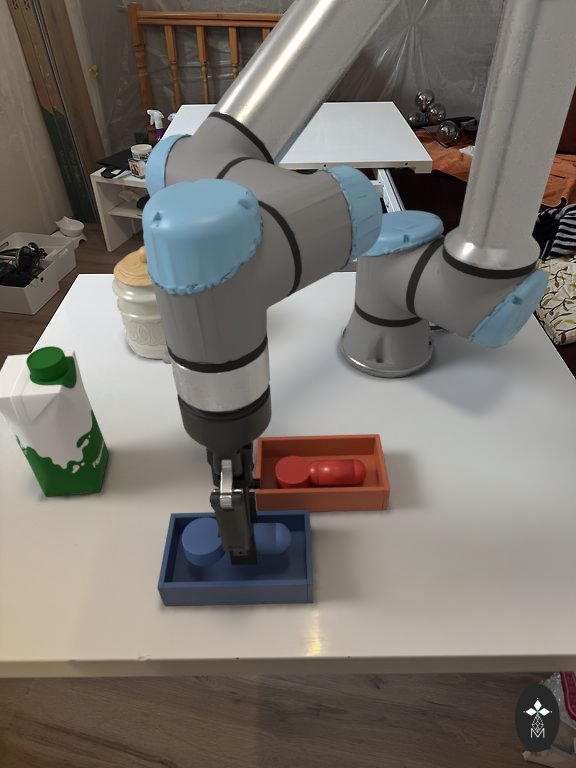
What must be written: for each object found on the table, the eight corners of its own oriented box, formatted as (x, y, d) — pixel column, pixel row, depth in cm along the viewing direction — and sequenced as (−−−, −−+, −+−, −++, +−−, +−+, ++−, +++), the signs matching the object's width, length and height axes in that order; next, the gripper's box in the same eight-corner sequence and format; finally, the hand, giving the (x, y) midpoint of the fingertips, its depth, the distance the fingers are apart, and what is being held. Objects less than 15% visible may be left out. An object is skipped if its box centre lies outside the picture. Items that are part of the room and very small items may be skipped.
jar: (149, 371, 88) (125, 277, 76) (115, 335, 96) (88, 245, 84) (215, 340, 94) (202, 248, 82) (178, 309, 102) (161, 221, 90)
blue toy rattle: (291, 528, 60) (290, 511, 58) (291, 565, 57) (291, 548, 54) (187, 530, 60) (183, 513, 58) (182, 567, 57) (177, 550, 55)
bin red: (376, 453, 73) (379, 433, 71) (386, 509, 66) (390, 490, 64) (259, 456, 73) (257, 437, 71) (257, 513, 66) (254, 493, 64)
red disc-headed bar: (363, 465, 71) (365, 449, 69) (367, 493, 68) (369, 477, 65) (276, 467, 71) (275, 451, 69) (275, 495, 68) (274, 480, 66)
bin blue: (309, 529, 64) (309, 509, 62) (312, 602, 58) (313, 584, 55) (176, 532, 65) (170, 513, 62) (164, 606, 58) (157, 587, 55)
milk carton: (106, 497, 69) (57, 381, 56) (35, 503, 69) (-32, 388, 55) (116, 446, 75) (75, 332, 62) (52, 452, 75) (-4, 338, 62)
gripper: (189, 327, 49) (217, 486, 64) (159, 463, 37) (202, 619, 52) (271, 325, 49) (279, 485, 64) (268, 460, 37) (279, 618, 52)
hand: (245, 545), depth 58 cm, fingers closed on blue toy rattle, 3 cm apart
